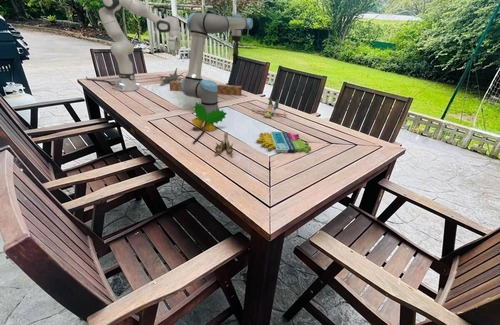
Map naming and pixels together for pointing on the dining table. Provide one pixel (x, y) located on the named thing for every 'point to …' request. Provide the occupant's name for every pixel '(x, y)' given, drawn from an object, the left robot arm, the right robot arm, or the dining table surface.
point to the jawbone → (224, 145)
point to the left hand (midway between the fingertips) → (175, 55)
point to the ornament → (207, 117)
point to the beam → (221, 88)
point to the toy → (270, 109)
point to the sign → (283, 142)
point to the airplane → (170, 78)
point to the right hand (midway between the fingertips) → (235, 62)
